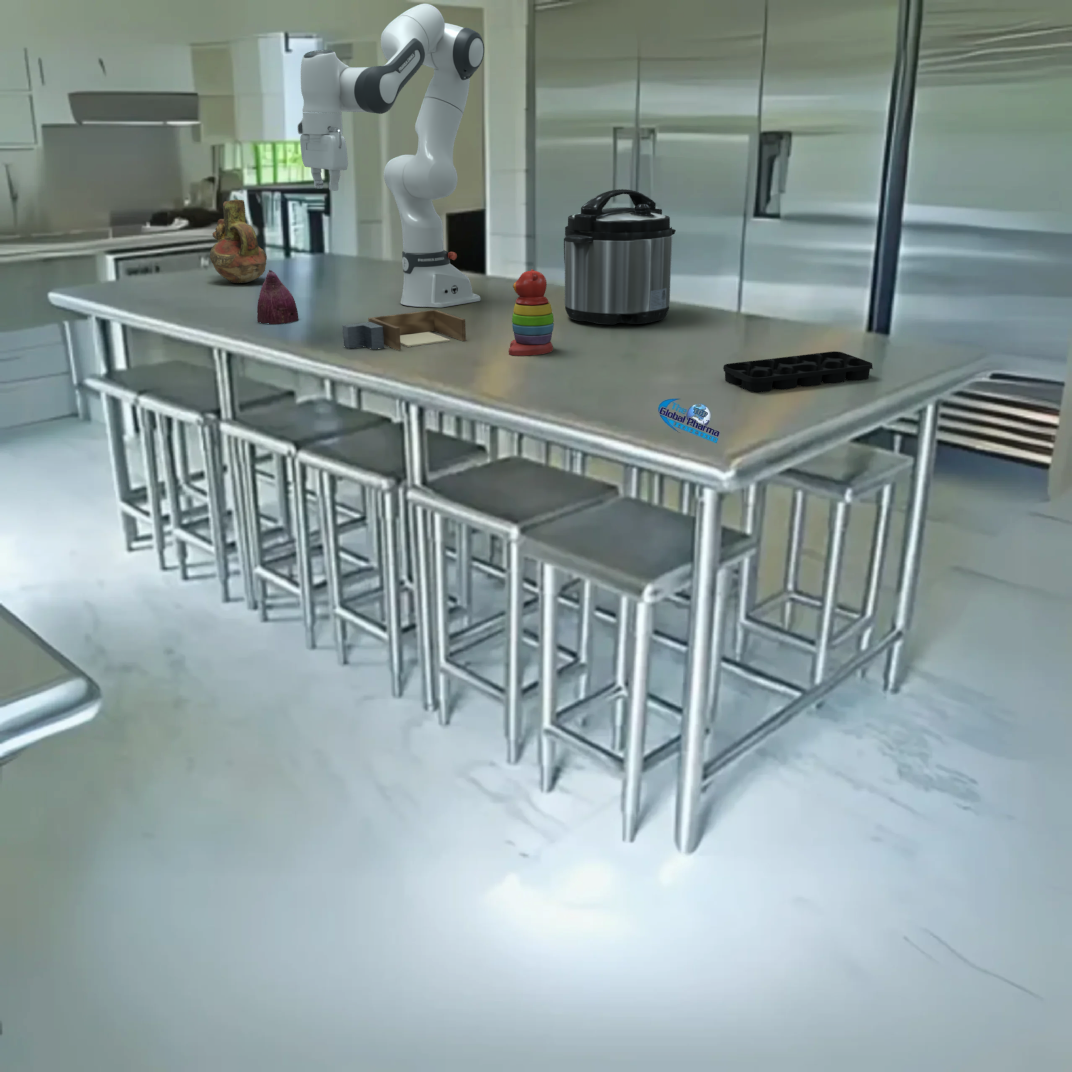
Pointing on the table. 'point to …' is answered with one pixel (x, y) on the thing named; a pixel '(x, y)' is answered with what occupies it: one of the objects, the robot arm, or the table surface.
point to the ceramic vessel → (237, 246)
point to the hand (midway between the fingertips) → (326, 189)
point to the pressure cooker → (618, 261)
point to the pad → (421, 339)
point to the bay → (419, 325)
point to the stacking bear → (531, 316)
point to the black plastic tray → (796, 371)
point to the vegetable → (275, 302)
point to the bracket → (363, 335)
